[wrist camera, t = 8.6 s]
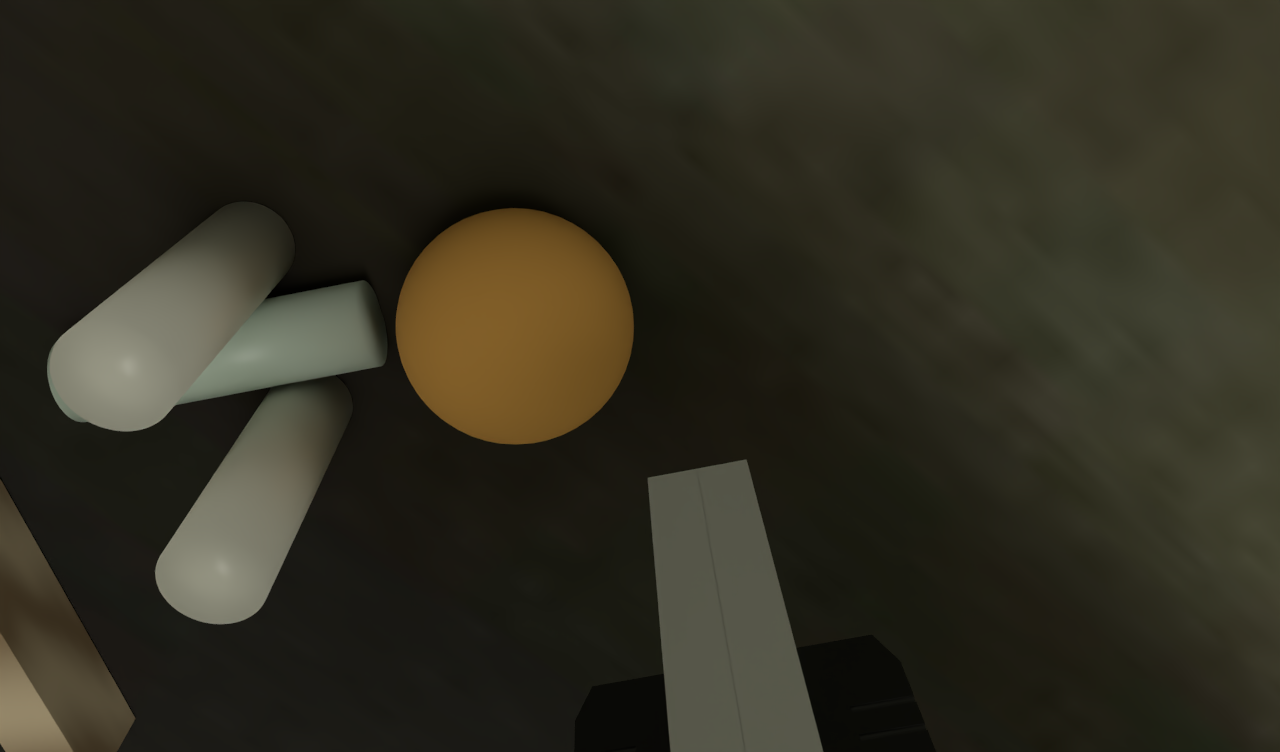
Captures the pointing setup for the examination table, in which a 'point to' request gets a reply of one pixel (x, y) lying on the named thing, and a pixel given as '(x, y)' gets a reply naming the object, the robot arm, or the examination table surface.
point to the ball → (514, 326)
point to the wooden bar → (48, 658)
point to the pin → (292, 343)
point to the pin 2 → (254, 504)
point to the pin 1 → (171, 319)
